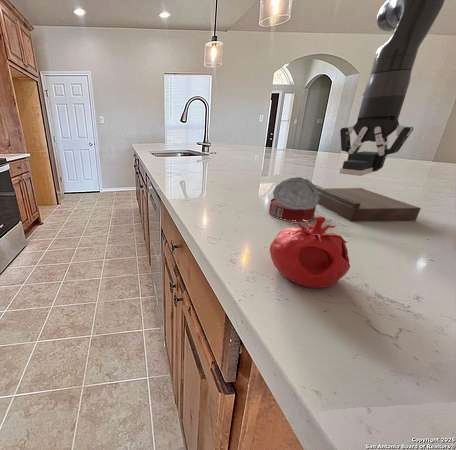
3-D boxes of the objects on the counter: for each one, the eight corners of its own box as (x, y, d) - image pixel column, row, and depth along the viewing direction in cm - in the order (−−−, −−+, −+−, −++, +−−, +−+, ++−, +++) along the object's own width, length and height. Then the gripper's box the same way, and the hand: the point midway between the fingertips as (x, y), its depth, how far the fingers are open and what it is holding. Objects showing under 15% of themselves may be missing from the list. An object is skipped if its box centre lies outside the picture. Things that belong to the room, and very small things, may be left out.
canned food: (307, 230, 62) (338, 201, 55) (284, 236, 57) (316, 204, 50) (276, 201, 68) (301, 171, 61) (253, 204, 63) (277, 171, 56)
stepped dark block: (357, 168, 67) (362, 151, 65) (379, 170, 63) (384, 152, 61) (338, 173, 61) (343, 155, 60) (360, 176, 58) (366, 156, 56)
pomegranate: (254, 262, 40) (262, 209, 37) (305, 254, 42) (318, 203, 39) (299, 301, 31) (316, 236, 28) (362, 289, 33) (385, 226, 30)
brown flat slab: (357, 197, 71) (361, 183, 69) (415, 220, 54) (423, 202, 53) (308, 198, 72) (311, 184, 70) (350, 221, 55) (356, 203, 53)
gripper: (432, 92, 53) (404, 171, 59) (354, 99, 64) (338, 165, 70) (421, 91, 49) (393, 175, 55) (341, 98, 60) (325, 168, 67)
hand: (362, 169), depth 63 cm, fingers closed on stepped dark block, 4 cm apart
